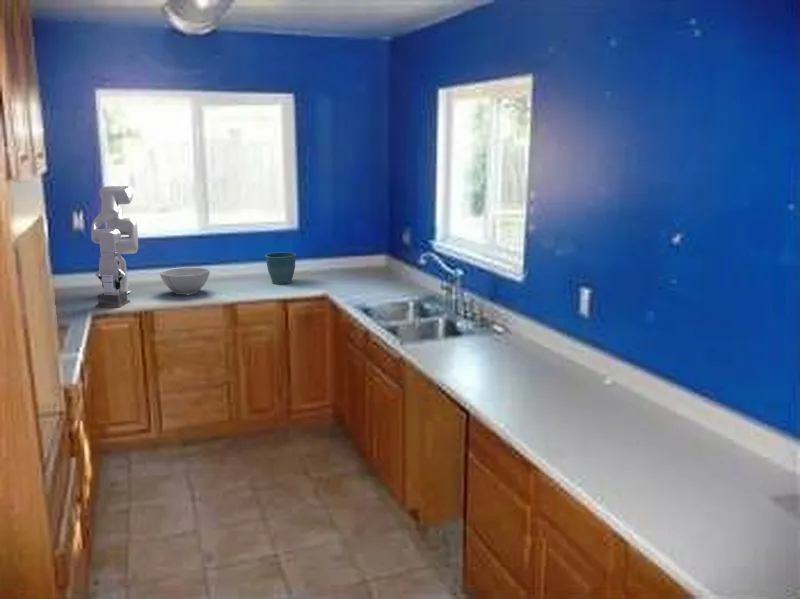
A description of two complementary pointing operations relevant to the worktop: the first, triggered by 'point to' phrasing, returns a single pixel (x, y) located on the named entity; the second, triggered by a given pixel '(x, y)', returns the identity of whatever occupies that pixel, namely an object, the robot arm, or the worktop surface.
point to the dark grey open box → (113, 300)
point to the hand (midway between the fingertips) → (111, 288)
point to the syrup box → (110, 285)
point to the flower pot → (281, 266)
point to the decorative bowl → (185, 279)
